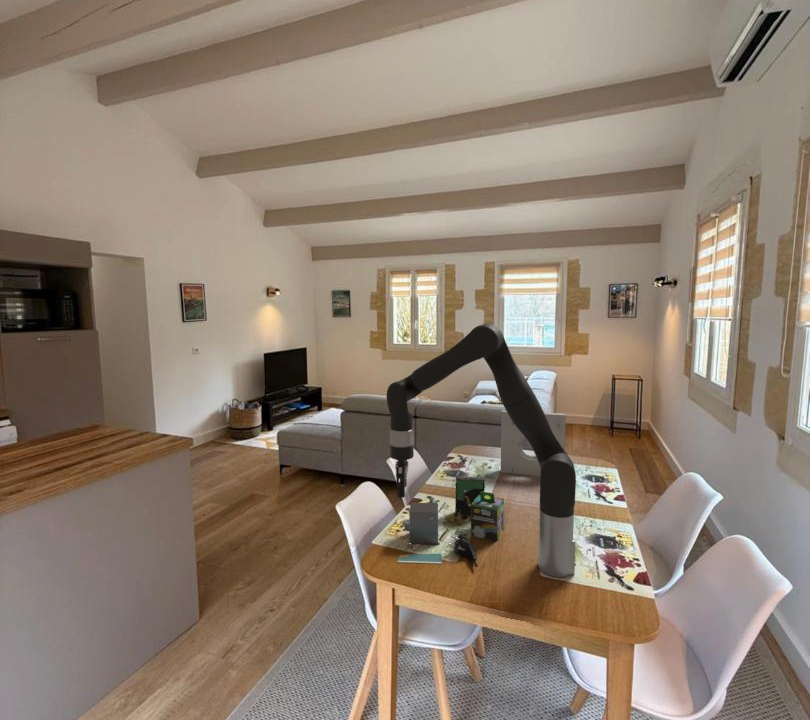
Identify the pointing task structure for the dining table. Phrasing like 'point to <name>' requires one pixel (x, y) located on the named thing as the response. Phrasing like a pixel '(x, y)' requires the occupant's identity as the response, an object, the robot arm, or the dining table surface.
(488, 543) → the dining table surface
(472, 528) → the chalk box
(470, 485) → the disk drive
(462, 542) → the power plug
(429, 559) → the mat
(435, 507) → the unit
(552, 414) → the mounting panel
